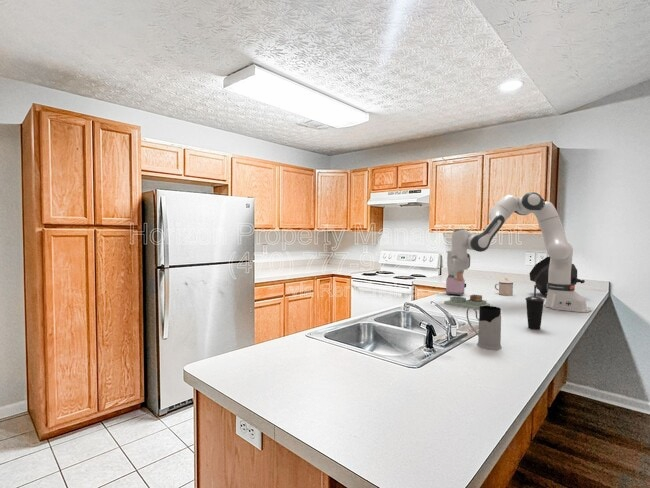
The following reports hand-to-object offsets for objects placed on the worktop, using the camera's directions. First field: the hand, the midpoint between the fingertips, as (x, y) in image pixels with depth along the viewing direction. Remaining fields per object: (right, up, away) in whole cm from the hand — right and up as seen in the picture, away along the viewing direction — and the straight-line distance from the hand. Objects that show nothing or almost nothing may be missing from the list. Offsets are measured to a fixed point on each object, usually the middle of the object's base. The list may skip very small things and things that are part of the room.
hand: (458, 277), depth 218 cm
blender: (+11, -15, +31) cm, 36 cm away
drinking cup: (+14, -18, -54) cm, 59 cm away
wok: (+77, -16, +26) cm, 83 cm away
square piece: (+8, -15, -7) cm, 18 cm away
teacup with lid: (+45, -15, +34) cm, 58 cm away
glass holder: (-20, -19, -78) cm, 83 cm away
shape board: (+4, -16, -3) cm, 17 cm away
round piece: (0, -2, 0) cm, 2 cm away
